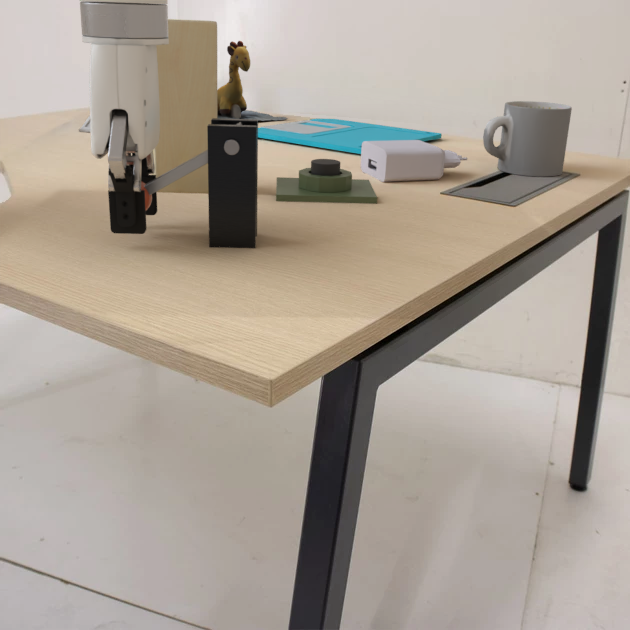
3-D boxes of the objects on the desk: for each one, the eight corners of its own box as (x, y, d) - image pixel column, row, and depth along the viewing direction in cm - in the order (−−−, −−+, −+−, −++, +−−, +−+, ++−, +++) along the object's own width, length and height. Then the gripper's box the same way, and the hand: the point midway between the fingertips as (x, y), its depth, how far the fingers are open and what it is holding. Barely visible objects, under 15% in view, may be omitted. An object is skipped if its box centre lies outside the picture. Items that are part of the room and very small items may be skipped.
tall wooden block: (211, 183, 109) (208, 19, 101) (219, 195, 102) (217, 21, 94) (151, 184, 107) (144, 17, 99) (156, 197, 100) (149, 19, 92)
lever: (125, 225, 75) (105, 194, 74) (131, 216, 79) (112, 186, 77) (254, 154, 73) (236, 121, 72) (256, 147, 77) (238, 116, 75)
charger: (477, 180, 117) (384, 184, 112) (448, 168, 125) (359, 171, 120) (481, 147, 115) (386, 150, 111) (451, 137, 123) (361, 139, 119)
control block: (275, 212, 95) (276, 179, 93) (276, 193, 104) (276, 163, 102) (376, 215, 95) (378, 182, 94) (367, 196, 104) (369, 165, 103)
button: (311, 178, 96) (311, 163, 96) (310, 172, 100) (310, 158, 99) (340, 179, 97) (341, 164, 96) (338, 173, 100) (339, 159, 99)
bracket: (166, 267, 74) (161, 127, 69) (178, 240, 82) (174, 114, 78) (295, 269, 75) (298, 131, 70) (294, 242, 83) (297, 117, 78)
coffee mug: (548, 164, 130) (557, 101, 127) (572, 177, 121) (582, 109, 118) (469, 163, 129) (475, 99, 126) (486, 175, 120) (494, 107, 116)
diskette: (365, 155, 132) (366, 149, 131) (239, 135, 147) (239, 129, 147) (442, 138, 151) (442, 133, 151) (323, 122, 167) (324, 117, 166)
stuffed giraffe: (226, 124, 159) (227, 39, 154) (177, 116, 171) (175, 38, 166) (287, 121, 169) (290, 42, 164) (236, 114, 182) (237, 40, 177)
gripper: (102, 22, 78) (113, 201, 85) (56, 27, 62) (74, 248, 69) (179, 24, 79) (184, 203, 85) (153, 30, 63) (161, 250, 69)
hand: (135, 221), depth 77 cm, fingers open, 6 cm apart
